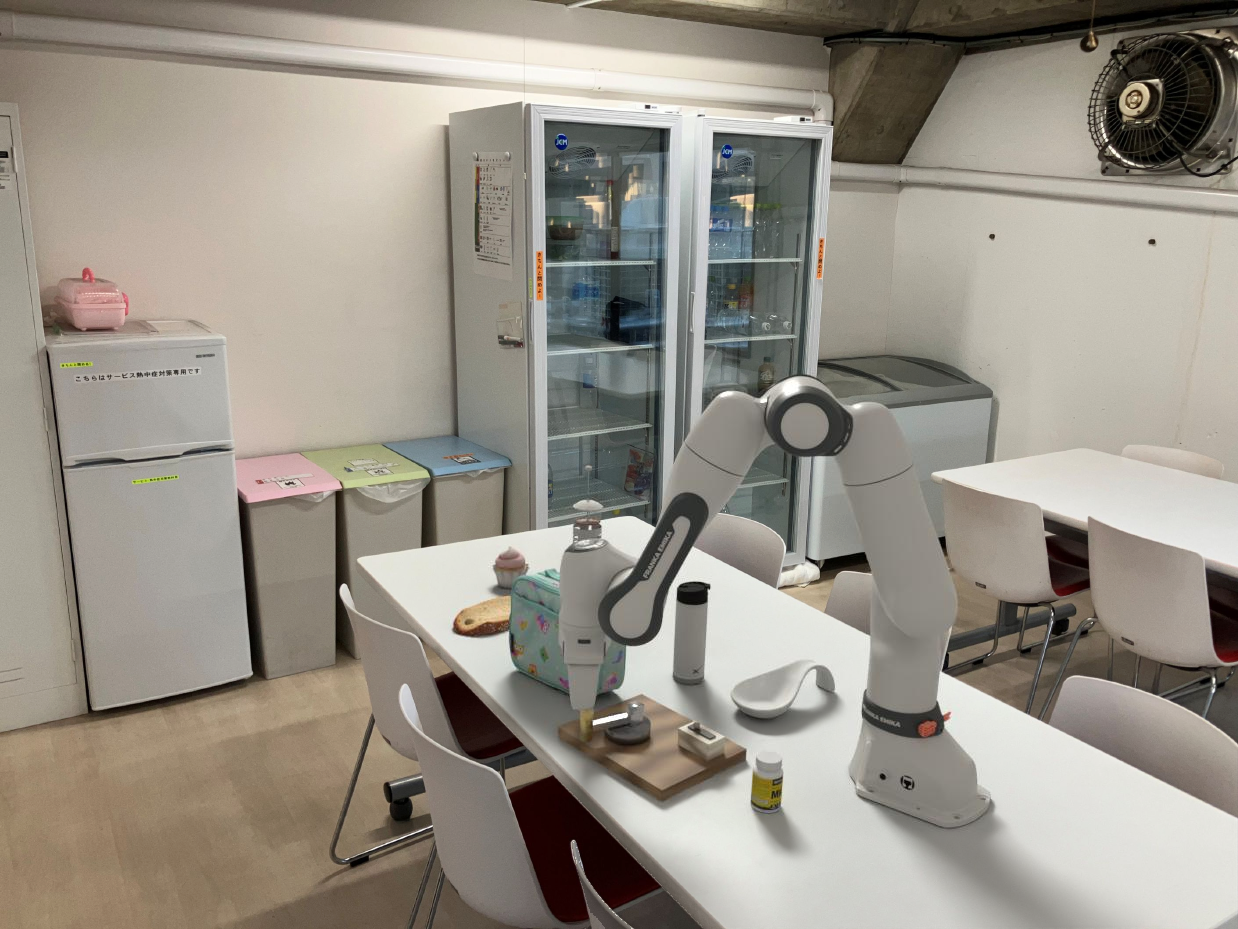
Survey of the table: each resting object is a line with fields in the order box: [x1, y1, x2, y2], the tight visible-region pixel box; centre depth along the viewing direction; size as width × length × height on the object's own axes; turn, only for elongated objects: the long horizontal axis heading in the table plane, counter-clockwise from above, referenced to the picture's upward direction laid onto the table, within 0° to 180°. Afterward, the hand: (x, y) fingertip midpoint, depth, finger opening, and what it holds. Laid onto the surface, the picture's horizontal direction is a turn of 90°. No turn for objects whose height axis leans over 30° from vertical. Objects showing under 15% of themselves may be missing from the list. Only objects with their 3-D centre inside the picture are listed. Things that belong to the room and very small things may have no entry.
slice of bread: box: [452, 595, 511, 637], centre depth 224 cm, size 18×18×4 cm
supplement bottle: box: [750, 750, 784, 814], centre depth 153 cm, size 5×5×8 cm
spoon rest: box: [730, 658, 836, 719], centre depth 188 cm, size 24×12×7 cm, turn 127°
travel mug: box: [672, 580, 712, 685], centre depth 195 cm, size 6×7×20 cm
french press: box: [572, 465, 604, 544], centre depth 269 cm, size 10×12×25 cm
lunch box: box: [508, 567, 627, 697], centre depth 193 cm, size 27×10×21 cm, turn 47°
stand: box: [557, 693, 747, 803], centre depth 170 cm, size 26×20×6 cm
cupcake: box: [491, 545, 530, 589], centre depth 245 cm, size 9×9×10 cm
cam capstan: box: [579, 701, 651, 745], centre depth 168 cm, size 13×8×8 cm, turn 119°
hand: (583, 709), depth 168 cm, fingers closed
